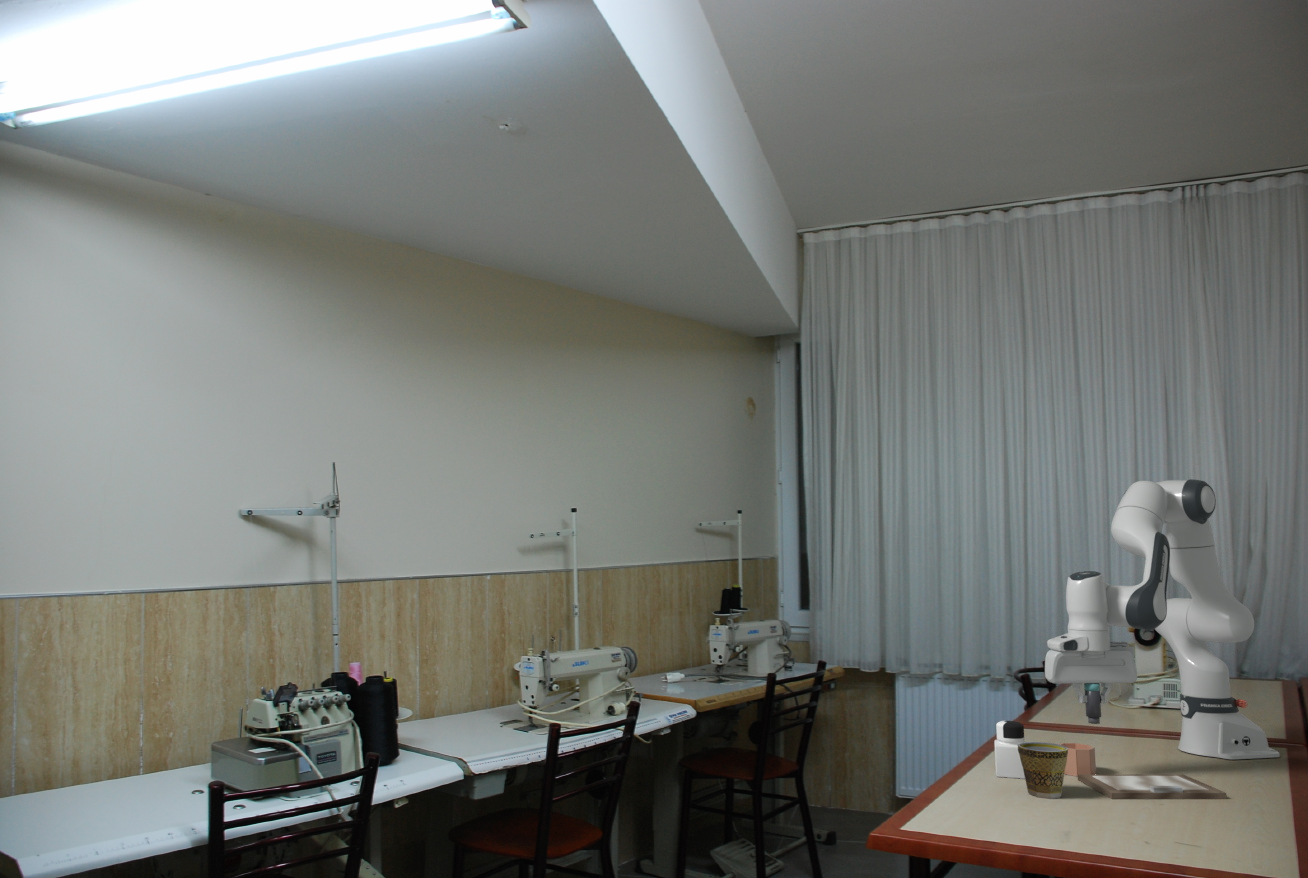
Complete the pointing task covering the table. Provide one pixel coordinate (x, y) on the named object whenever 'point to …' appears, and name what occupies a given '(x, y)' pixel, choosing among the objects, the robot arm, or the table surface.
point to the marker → (1093, 702)
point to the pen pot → (1080, 759)
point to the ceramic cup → (1043, 768)
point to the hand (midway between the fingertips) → (1092, 702)
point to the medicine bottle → (1008, 749)
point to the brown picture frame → (1151, 787)
